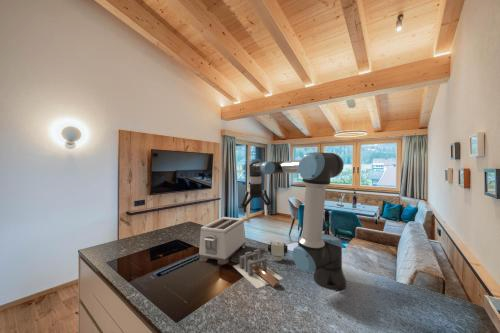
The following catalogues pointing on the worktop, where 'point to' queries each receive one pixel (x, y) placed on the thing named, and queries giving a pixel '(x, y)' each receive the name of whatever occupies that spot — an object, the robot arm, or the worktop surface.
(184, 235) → the worktop surface
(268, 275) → the tube
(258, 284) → the board
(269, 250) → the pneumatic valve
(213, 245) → the toaster
